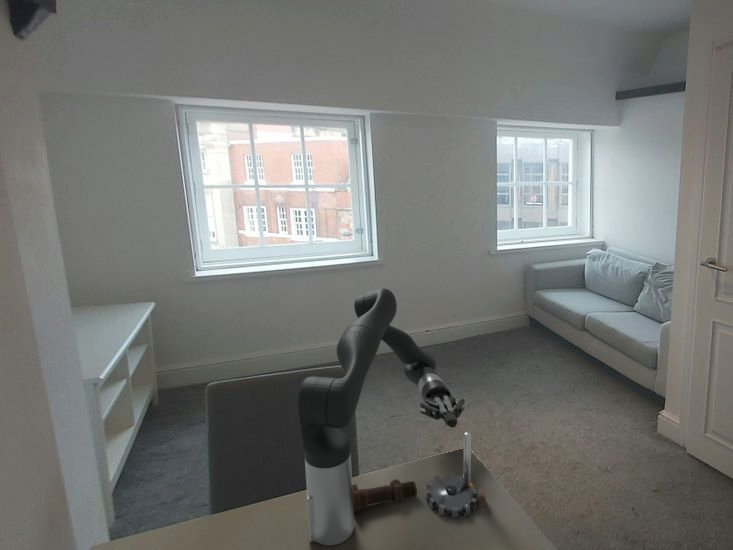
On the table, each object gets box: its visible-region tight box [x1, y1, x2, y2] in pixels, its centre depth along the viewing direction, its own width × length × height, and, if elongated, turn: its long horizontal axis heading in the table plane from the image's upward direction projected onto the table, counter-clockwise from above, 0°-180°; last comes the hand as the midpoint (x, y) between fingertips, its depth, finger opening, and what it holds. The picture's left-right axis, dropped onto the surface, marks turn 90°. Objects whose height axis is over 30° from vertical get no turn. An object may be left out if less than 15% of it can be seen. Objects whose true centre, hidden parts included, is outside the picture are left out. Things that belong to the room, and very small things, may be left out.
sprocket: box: [425, 431, 478, 519], centre depth 93 cm, size 11×11×15 cm
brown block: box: [478, 489, 486, 508], centre depth 92 cm, size 1×2×2 cm, turn 167°
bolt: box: [352, 479, 418, 514], centre depth 94 cm, size 6×5×15 cm
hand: (453, 423), depth 104 cm, fingers closed
